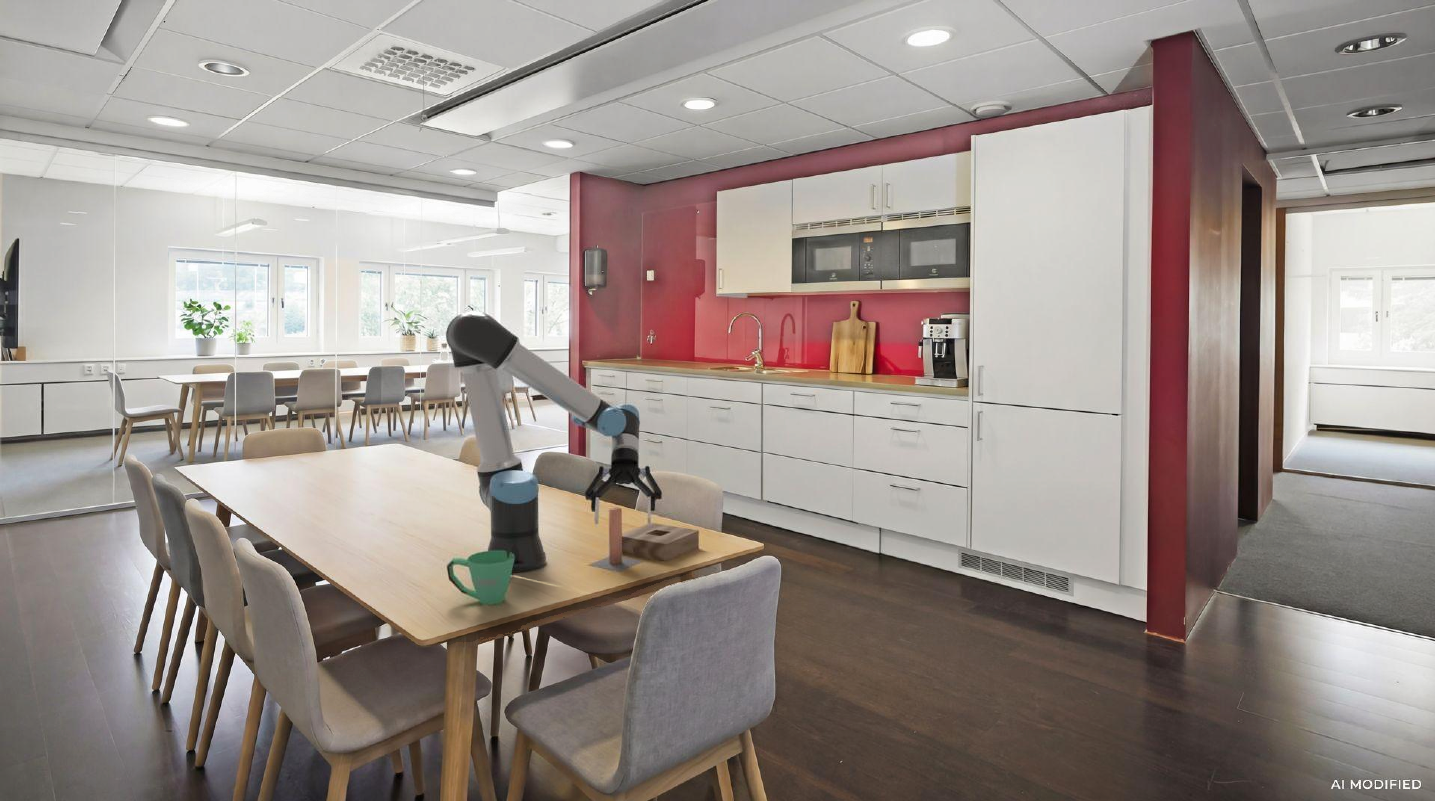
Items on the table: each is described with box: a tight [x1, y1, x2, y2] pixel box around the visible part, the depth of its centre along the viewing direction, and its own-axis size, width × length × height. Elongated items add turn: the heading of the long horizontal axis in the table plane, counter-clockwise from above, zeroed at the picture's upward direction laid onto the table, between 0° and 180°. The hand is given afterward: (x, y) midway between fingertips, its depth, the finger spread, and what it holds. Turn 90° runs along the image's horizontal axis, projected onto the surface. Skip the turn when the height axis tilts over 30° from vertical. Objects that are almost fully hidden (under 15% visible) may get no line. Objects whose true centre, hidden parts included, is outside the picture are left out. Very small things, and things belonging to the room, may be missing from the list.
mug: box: [446, 550, 514, 606], centre depth 163 cm, size 15×10×10 cm
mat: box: [588, 556, 644, 572], centre depth 190 cm, size 10×10×1 cm
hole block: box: [622, 522, 700, 562], centre depth 202 cm, size 16×16×5 cm
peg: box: [608, 507, 623, 565], centre depth 189 cm, size 3×3×14 cm
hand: (622, 521), depth 193 cm, fingers open, 13 cm apart
